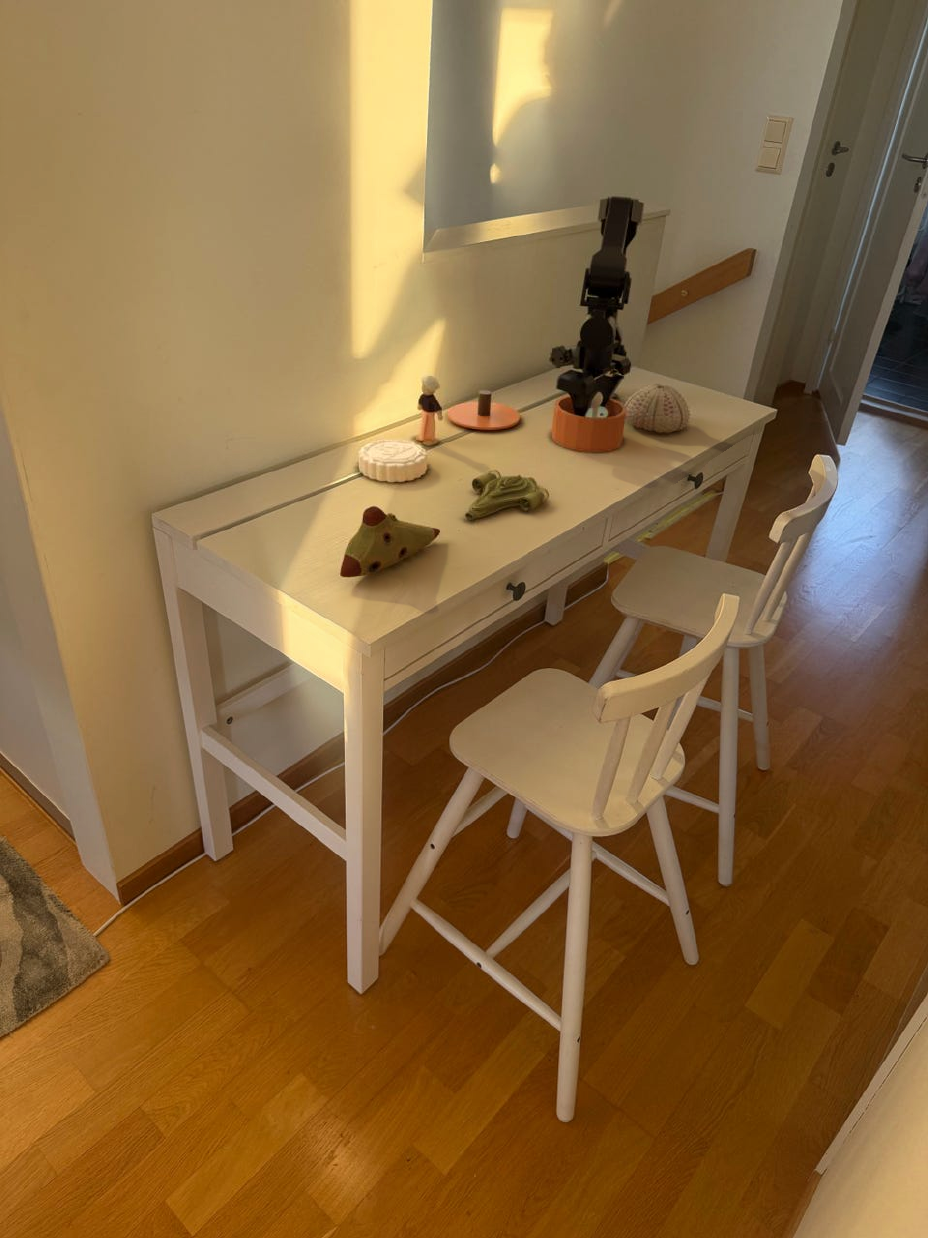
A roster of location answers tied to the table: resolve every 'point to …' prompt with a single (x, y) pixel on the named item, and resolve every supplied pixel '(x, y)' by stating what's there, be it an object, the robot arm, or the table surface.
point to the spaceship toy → (504, 494)
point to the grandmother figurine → (428, 410)
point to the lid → (483, 414)
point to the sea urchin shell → (657, 409)
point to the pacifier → (597, 408)
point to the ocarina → (383, 543)
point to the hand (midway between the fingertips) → (589, 417)
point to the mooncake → (392, 460)
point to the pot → (588, 427)
